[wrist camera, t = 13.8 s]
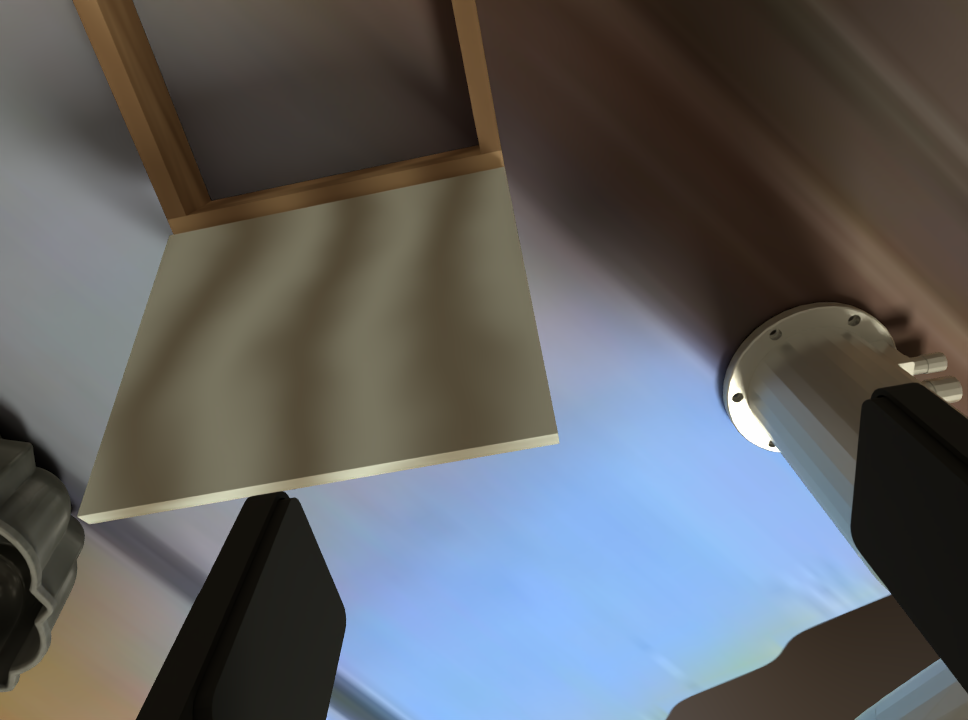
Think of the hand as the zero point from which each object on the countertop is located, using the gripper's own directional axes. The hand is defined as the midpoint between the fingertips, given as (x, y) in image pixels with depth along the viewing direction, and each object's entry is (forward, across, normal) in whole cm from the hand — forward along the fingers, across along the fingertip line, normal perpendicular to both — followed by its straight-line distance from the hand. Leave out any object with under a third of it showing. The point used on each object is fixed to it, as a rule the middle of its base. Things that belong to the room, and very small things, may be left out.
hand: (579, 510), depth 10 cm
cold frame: (+33, +10, -5) cm, 35 cm away
